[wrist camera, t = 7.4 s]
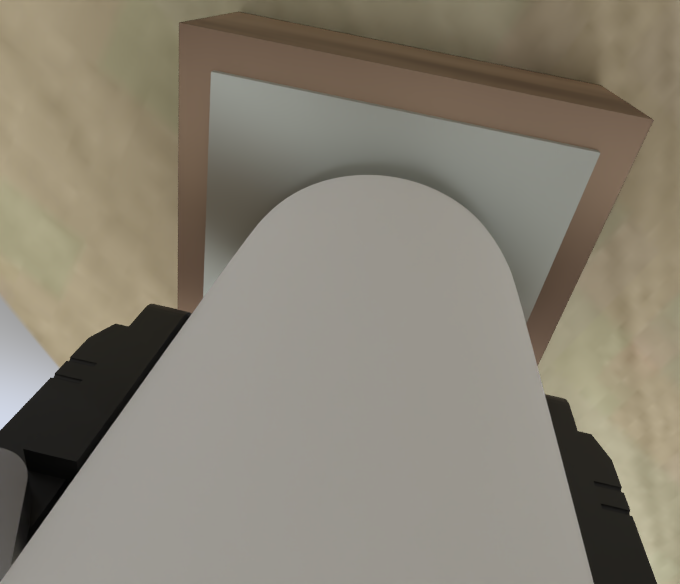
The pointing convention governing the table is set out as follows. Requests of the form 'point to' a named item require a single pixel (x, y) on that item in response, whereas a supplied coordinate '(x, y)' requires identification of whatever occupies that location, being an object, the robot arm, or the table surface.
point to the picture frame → (394, 145)
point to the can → (332, 418)
